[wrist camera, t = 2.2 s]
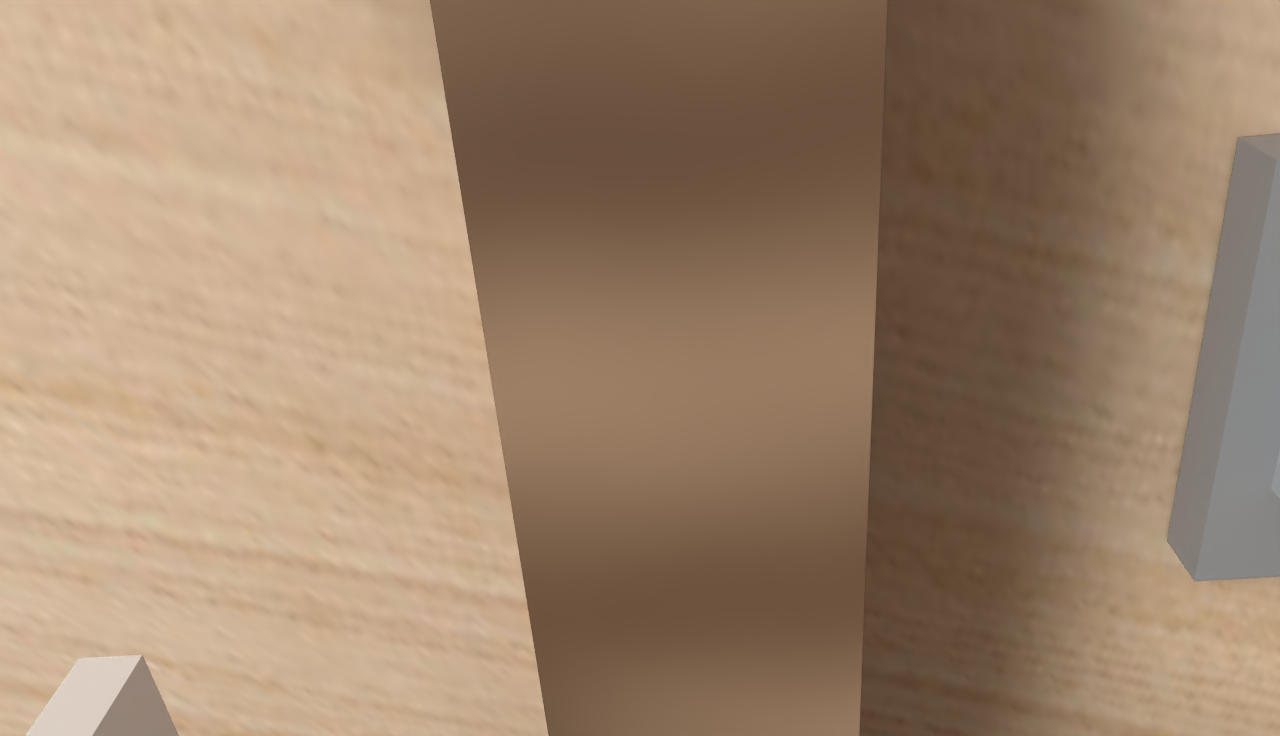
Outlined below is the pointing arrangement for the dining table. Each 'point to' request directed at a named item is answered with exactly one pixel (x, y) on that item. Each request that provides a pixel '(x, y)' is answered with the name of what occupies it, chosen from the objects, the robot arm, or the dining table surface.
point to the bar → (679, 344)
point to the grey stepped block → (1237, 389)
